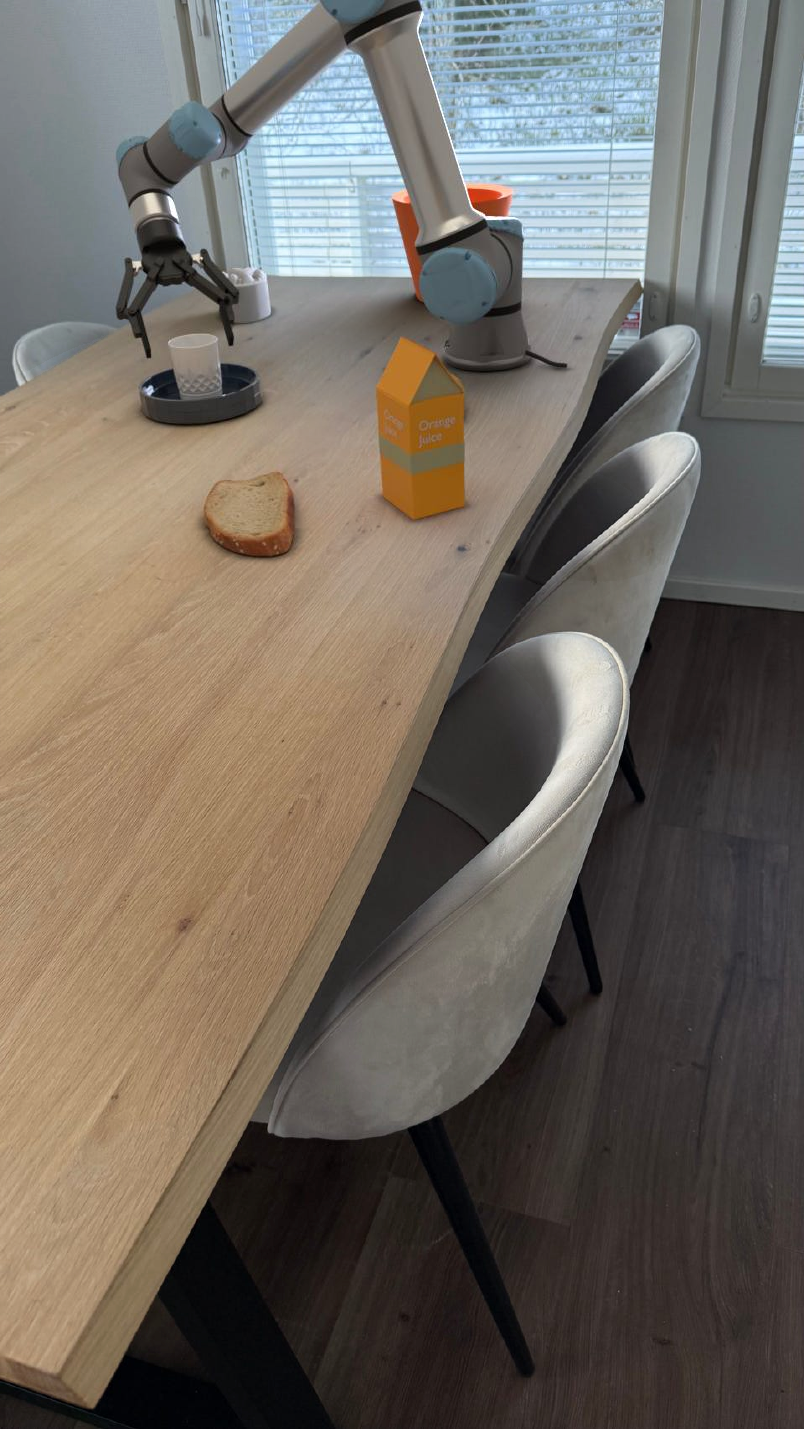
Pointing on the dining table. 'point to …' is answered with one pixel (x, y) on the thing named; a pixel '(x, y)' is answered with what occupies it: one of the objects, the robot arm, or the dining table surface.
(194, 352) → the white cup
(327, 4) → the robot arm
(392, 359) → the orange juice
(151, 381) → the plate
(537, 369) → the dining table surface
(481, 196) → the flowerpot
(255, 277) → the lumpy-topped squat cylinder
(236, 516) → the slice of bread
